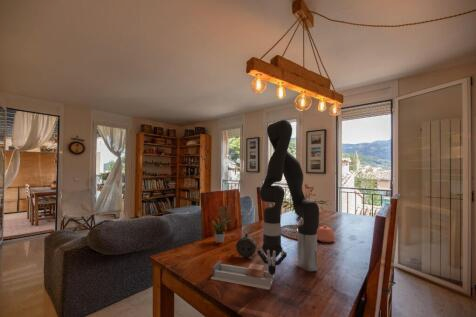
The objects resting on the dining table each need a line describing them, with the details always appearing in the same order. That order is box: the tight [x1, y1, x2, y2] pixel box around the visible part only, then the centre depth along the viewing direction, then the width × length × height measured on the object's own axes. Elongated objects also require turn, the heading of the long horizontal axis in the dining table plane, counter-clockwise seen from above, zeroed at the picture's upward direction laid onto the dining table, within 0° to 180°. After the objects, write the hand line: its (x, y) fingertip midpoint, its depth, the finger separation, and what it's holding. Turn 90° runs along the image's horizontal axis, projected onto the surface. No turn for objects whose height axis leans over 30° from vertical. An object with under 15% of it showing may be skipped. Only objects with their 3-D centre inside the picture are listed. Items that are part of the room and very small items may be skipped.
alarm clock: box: [235, 228, 258, 259], centre depth 120 cm, size 11×5×16 cm, turn 74°
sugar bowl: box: [317, 224, 336, 243], centre depth 151 cm, size 12×14×10 cm
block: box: [247, 262, 265, 278], centre depth 95 cm, size 6×5×5 cm
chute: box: [210, 259, 275, 290], centre depth 97 cm, size 26×12×5 cm, turn 71°
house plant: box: [211, 217, 232, 242], centre depth 146 cm, size 14×14×16 cm
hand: (271, 273), depth 93 cm, fingers closed
